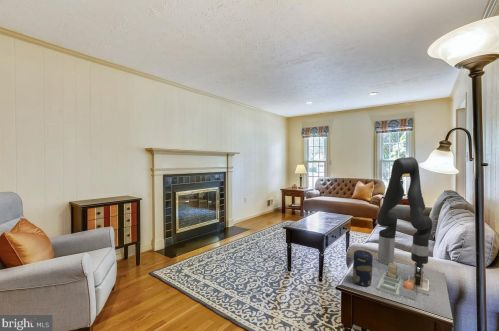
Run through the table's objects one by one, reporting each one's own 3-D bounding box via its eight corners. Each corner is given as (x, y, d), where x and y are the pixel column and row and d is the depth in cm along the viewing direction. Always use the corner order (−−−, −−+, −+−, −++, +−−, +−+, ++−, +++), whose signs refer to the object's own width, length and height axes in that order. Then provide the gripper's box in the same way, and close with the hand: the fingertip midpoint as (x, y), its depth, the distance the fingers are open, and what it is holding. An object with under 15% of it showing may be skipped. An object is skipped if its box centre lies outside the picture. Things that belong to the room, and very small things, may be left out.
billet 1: (388, 276, 141) (389, 262, 140) (396, 278, 139) (397, 265, 138) (387, 279, 138) (388, 265, 137) (395, 281, 135) (396, 267, 135)
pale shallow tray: (408, 278, 141) (408, 274, 141) (429, 284, 135) (429, 280, 135) (406, 289, 131) (406, 284, 130) (428, 295, 125) (428, 291, 125)
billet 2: (413, 282, 136) (414, 268, 135) (422, 285, 133) (423, 271, 133) (413, 286, 133) (414, 271, 132) (422, 288, 130) (423, 274, 130)
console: (401, 288, 131) (401, 281, 130) (416, 293, 126) (417, 286, 126) (399, 294, 125) (399, 287, 125) (415, 300, 121) (416, 292, 120)
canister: (372, 281, 137) (374, 250, 136) (369, 289, 130) (371, 256, 129) (354, 276, 143) (355, 246, 142) (350, 283, 135) (352, 251, 134)
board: (383, 275, 144) (383, 270, 144) (403, 281, 138) (403, 276, 138) (376, 289, 129) (377, 284, 129) (398, 296, 123) (399, 291, 123)
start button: (404, 290, 128) (404, 279, 128) (413, 293, 126) (413, 282, 126) (403, 294, 125) (403, 282, 125) (412, 297, 123) (413, 285, 122)
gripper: (412, 246, 140) (411, 274, 141) (410, 255, 128) (408, 285, 129) (428, 250, 135) (427, 279, 136) (428, 259, 124) (426, 290, 125)
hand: (418, 282), depth 133 cm, fingers open, 8 cm apart
